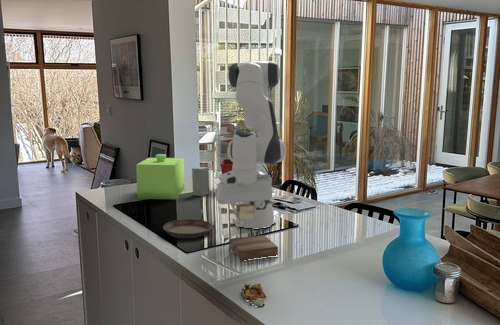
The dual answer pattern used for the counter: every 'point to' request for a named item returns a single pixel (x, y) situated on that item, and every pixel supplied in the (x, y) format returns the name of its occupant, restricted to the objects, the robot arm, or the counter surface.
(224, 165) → the plant pot
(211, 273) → the counter surface
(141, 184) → the canister
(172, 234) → the plant saucer
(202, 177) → the skincare box
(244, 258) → the walnut base
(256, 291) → the pastry
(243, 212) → the maple cube
